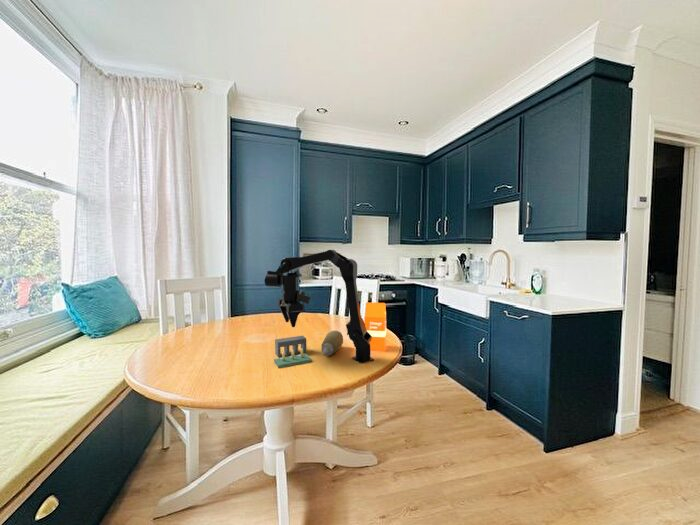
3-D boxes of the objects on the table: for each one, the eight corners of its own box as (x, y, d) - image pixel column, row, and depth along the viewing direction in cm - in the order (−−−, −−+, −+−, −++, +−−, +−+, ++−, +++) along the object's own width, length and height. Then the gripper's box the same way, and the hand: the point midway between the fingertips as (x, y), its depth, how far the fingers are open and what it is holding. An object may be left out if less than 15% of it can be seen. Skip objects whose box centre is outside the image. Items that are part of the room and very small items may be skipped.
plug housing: (302, 349, 131) (302, 335, 130) (306, 352, 126) (306, 338, 126) (275, 353, 125) (275, 339, 125) (278, 357, 121) (277, 342, 121)
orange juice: (384, 351, 127) (384, 304, 126) (364, 350, 129) (364, 304, 128) (386, 345, 135) (386, 301, 134) (367, 344, 136) (366, 300, 135)
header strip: (306, 356, 122) (305, 345, 122) (311, 361, 116) (311, 350, 115) (274, 361, 116) (273, 350, 116) (278, 367, 110) (278, 355, 110)
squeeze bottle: (346, 344, 133) (335, 363, 116) (329, 345, 135) (316, 364, 118) (343, 327, 132) (332, 343, 115) (326, 328, 134) (312, 345, 117)
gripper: (316, 289, 120) (316, 327, 120) (301, 284, 136) (301, 318, 137) (288, 290, 114) (289, 330, 115) (277, 285, 131) (277, 320, 132)
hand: (290, 324), depth 125 cm, fingers open, 9 cm apart
